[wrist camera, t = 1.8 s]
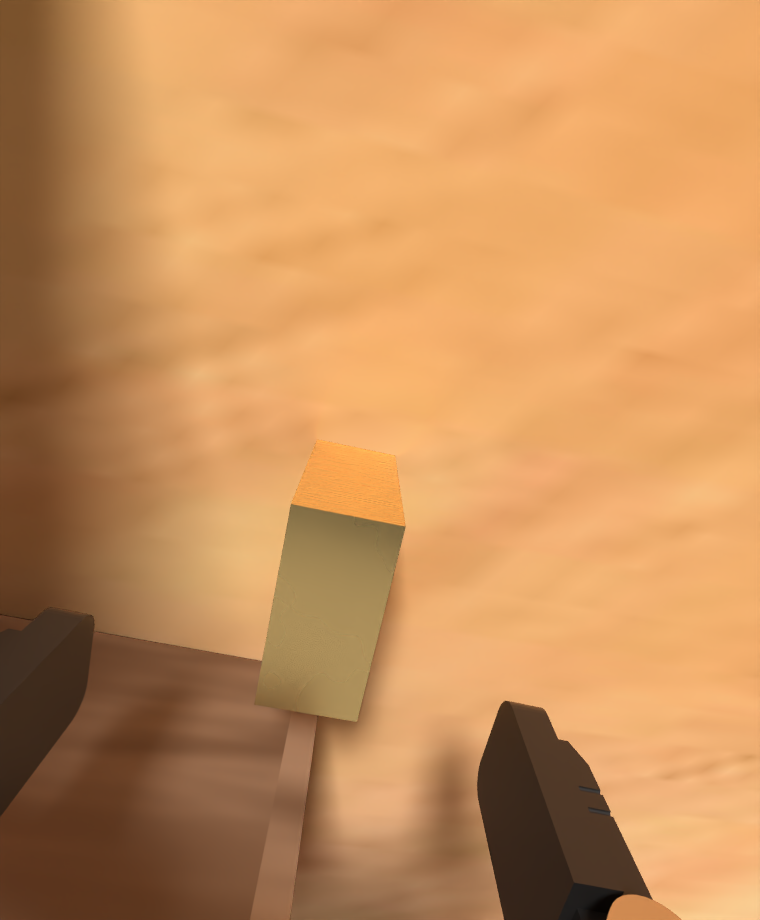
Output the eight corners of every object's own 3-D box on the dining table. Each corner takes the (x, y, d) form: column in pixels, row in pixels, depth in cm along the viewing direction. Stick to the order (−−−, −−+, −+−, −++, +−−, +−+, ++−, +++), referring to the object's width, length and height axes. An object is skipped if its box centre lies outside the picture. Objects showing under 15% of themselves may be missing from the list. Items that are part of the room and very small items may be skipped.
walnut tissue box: (-70, 602, 18) (-598, 959, 8) (323, 671, 19) (269, 1067, 9) (-68, 834, 20) (-463, 1309, 11) (276, 885, 21) (196, 1365, 12)
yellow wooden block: (317, 439, 16) (290, 504, 11) (395, 455, 17) (405, 526, 11) (289, 584, 18) (254, 704, 12) (361, 598, 18) (357, 722, 13)
